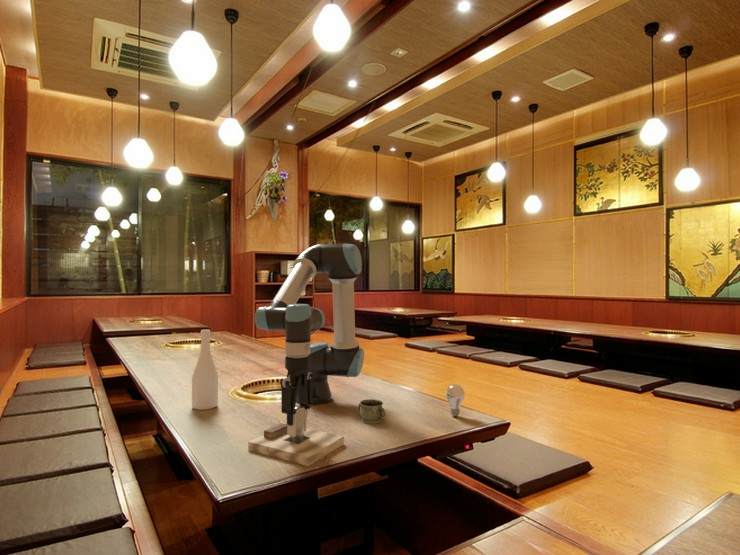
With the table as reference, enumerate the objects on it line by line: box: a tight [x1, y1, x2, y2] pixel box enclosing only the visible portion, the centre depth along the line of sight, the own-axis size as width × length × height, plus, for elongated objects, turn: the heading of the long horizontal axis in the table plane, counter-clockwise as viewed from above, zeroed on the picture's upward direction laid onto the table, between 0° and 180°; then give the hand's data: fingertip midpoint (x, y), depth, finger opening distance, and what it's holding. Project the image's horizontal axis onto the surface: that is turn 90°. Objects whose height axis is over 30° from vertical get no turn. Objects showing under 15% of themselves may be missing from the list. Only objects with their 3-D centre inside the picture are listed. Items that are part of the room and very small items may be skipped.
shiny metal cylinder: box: [290, 404, 305, 444], centre depth 134 cm, size 4×4×12 cm
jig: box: [247, 422, 345, 467], centre depth 134 cm, size 22×18×4 cm
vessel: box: [357, 398, 386, 424], centre depth 161 cm, size 12×9×6 cm
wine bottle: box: [191, 329, 219, 411], centre depth 173 cm, size 10×10×30 cm
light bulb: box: [445, 383, 465, 418], centre depth 165 cm, size 7×7×12 cm
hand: (297, 432), depth 134 cm, fingers closed on shiny metal cylinder, 4 cm apart
